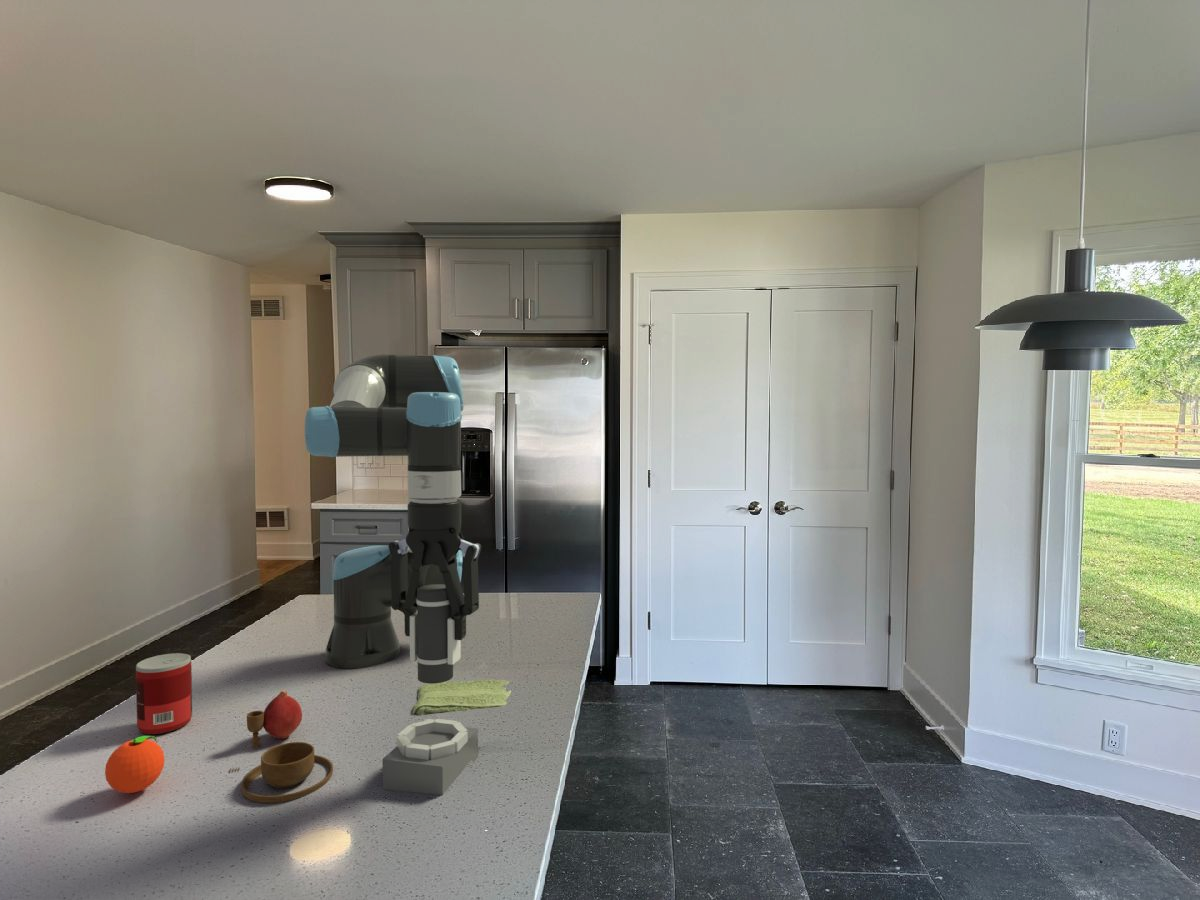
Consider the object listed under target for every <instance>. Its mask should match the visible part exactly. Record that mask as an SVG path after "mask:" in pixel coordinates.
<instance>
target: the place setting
mask: <svg viewBox="0 0 1200 900" xmlns="http://www.w3.org/2000/svg"><path fill="white" fill-rule="evenodd" d="M263 725H264V711H263V710H254V711H249V712H248V713H247V714H246V728H247V730H248V731H249V732H250V733H252V739H251V743H252V744H253V745H252V747H251V748H252V749H257V748H259V747H260V745H259V742H260V736H259V732H261V730H262V729H264V728H263ZM315 762H317V763H321V764H324V765H325V766H326V767H327V768H328V769H329V772H328V774H327V775H326V776H325V777H323V778H322V780H320V781H319V782H317V783H315V784H313V785H312V786H309V787H307V788H305V789H302V790H299V791H295V792H291V793H287V794H281V795H278V794H277V795H262V794H260V795H259V794H256V793H254V792H251V791H249V787H250V785H251V784H252V783H253V781H255V779H257V778H258V777H259V776H261V777H262V779H263V781H264V782H265V783H266V784H268V785H269V786H270V785H271V786H272V787H274V788H277V789H287V788H291V787H294V786H296V785H300V783H301V782H302V781H304V780H306V779H307V778H308V777H309V776H310V774H311V773H312V771H313V770H314V766H315ZM237 768H238V769H237ZM239 771H240V766H237V767H233V768H230V769H229V771H228V774H230V773H231V774H233V772H234V773H236V772H237V773H239ZM333 771H334V764H333V763H332V761H331V760H330V759H328V758H327V757H325V756H323V755H318V754H317V755H316V754H315V747H314V745H312V744H310V743H308V742H303V741H294V742H293V741H291V742H287V743H286V742H285V743H281V744H278V745H275V746H273V747H271V748H269V749H267V750H266V751H264V753H263V754H261V757H260V764H259V765H257V766H255V767H254V768H253V769H251V770H249V772H247V773H246V774H245V775H244V776H243V778H242V780H241V785H240V789H241V792H242V794H243V796H244V797H245V798H246V799H248V800H249V801H251V802H253V803H258V804H267V805H268V804H279V803H285V802H290V801H291V802H292V801H293V800H297V799H298V800H299V799H301V798H303V797H305V796H308V795H310V794H312V793H313V792H316V791H317V790H319V789H321V788H322V787H323V786H325V785H326V784H327V783H328V782H329V781H330V780H331V778H332V776H333ZM256 777H257V778H256Z"/></svg>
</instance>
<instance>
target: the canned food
mask: <svg viewBox="0 0 1200 900" xmlns="http://www.w3.org/2000/svg"><path fill="white" fill-rule="evenodd" d="M191 657H192V656H191V655H190V654H187V653H181V652H177V653H175V652H174V653H173V652H172V653H166V654H160V655H155V656H152V657H148V658H145V659H143V660H140V661H139V662H137V664H135V696H136V699H135V700H136V701H135V702H136V724H137V725H136V726H137V728H138V731H139V732H140V733H142V734H145V735H156V734H157V735H158V734H165V733H168V732H172V731H176V730H178V729H181V728H183V727H185V726H186V725H188V724H189V723H190V722H191V720H192V717H193V685H192V684H193V681H192V680H193V677H192V675H193V671H192V658H191Z"/></svg>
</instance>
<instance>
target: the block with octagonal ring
mask: <svg viewBox="0 0 1200 900" xmlns="http://www.w3.org/2000/svg"><path fill="white" fill-rule="evenodd" d="M477 758H478V759H479V728H478V727H469V726H464V724H462V723H461V721H457V720H453V719H443V718H435V719H434V718H425V719H423V720H422V721H418V722H414V723H411V724H409V725H407V726H406V727H405V728H404V729H402V731H400V732H399V733H398V734H397V735H396V746H395V747H394V748H393V749H392V750H391V751H390V752H389V753H387V754H386V755H385V756H384V757H383V758H382V790H391V791H392V790H393V791H402V792H409V793H410V792H412V793H419V794H420V793H421V794H429V795H438V796H443V795H444V794H445V793H446V792H447V791H448V789H449V788H450V787H451V785H453V783H454V782H455V781H456V780H457V779H458V777H459V776H460V775H461V773H462V772H463V771H464V770H465V769H466V768H467V766H468V765H469V764H470V763H471V761H472V762H473V763H474V762H475V760H476V759H477Z"/></svg>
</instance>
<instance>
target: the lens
mask: <svg viewBox="0 0 1200 900" xmlns="http://www.w3.org/2000/svg"><path fill="white" fill-rule="evenodd" d="M451 616H453V615H452V611H451V607H450V603H449V599H448V595H447V591H446V587H445V585H444V584H433V585H425V586H422V587H420V588H418V589H417V635H418V655H417V660H416V662H417V680H418V681H419V682H420V683H423V684H429V683H430V684H433V683H442V682H446V681H447V682H449V681H450V680H452V679H453V678H454V664H453V665H450V664H448V618H450V617H451Z"/></svg>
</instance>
